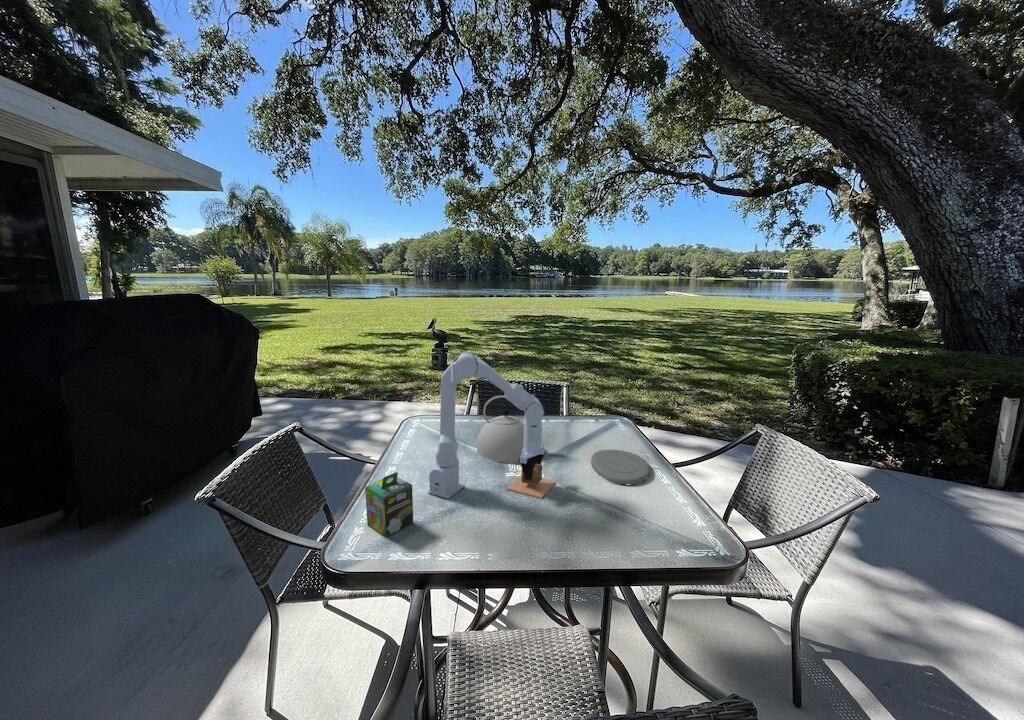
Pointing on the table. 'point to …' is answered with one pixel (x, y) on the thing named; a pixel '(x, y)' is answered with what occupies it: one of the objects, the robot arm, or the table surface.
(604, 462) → the frisbee
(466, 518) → the table surface
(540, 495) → the terracotta tile
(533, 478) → the walnut block
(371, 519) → the chalk box
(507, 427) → the kettle
